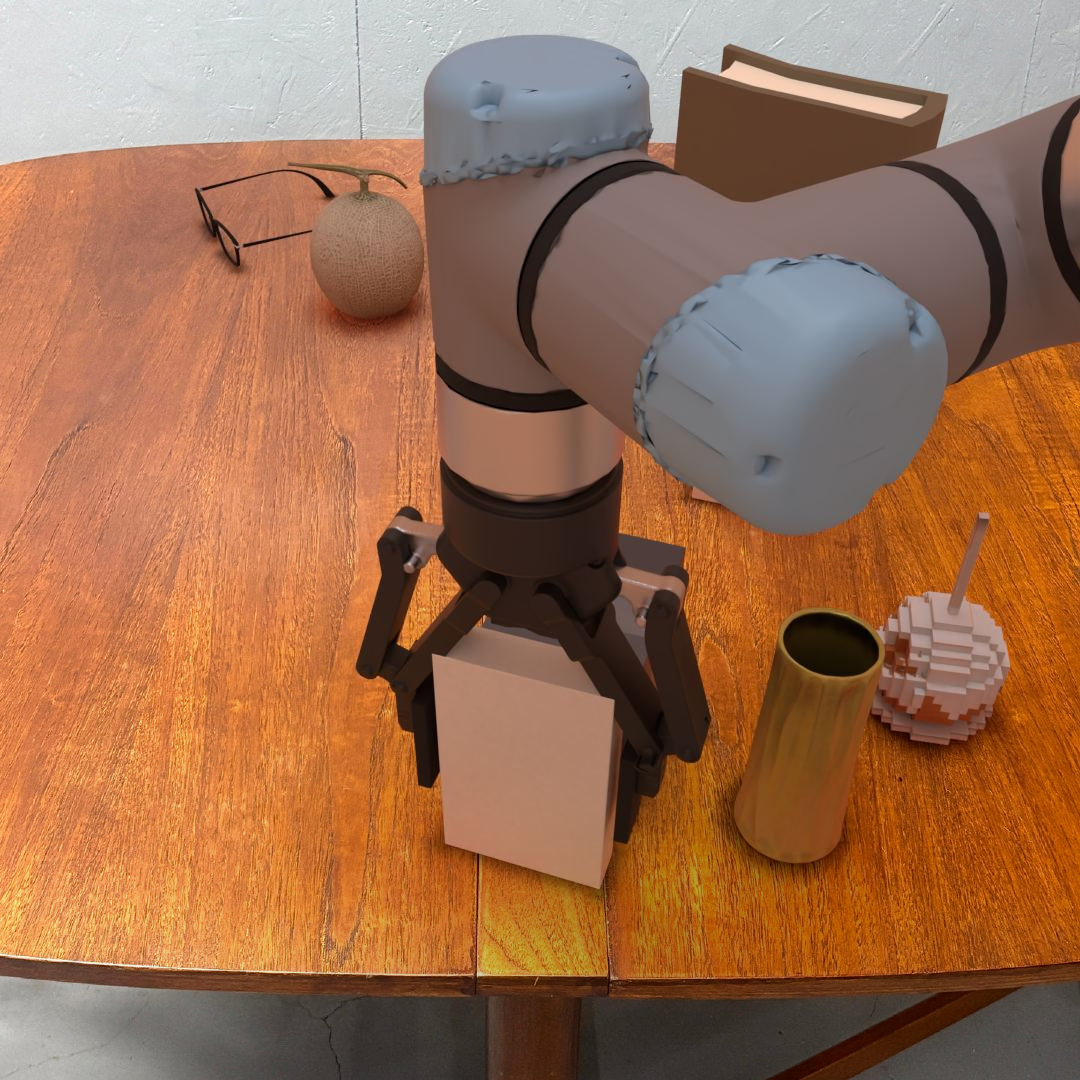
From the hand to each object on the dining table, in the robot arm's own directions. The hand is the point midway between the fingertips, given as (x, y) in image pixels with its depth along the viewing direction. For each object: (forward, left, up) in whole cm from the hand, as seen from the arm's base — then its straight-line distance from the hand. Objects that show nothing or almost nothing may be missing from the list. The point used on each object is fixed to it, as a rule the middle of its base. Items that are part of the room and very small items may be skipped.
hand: (528, 794), depth 61 cm
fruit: (+53, +34, -5) cm, 64 cm away
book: (+56, -4, -5) cm, 57 cm away
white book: (0, 0, -5) cm, 5 cm away
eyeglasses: (+65, +50, -5) cm, 83 cm away
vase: (+7, -13, -5) cm, 16 cm away
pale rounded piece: (+18, -20, -5) cm, 28 cm away
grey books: (+9, 0, -5) cm, 10 cm away
